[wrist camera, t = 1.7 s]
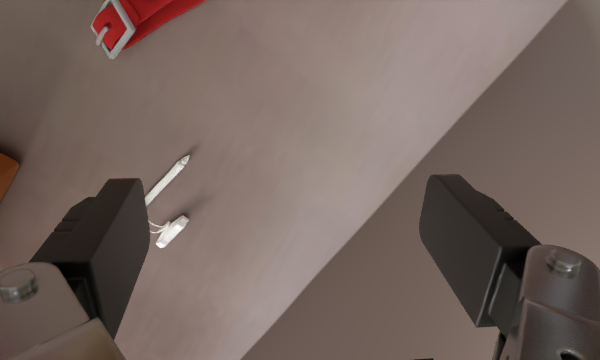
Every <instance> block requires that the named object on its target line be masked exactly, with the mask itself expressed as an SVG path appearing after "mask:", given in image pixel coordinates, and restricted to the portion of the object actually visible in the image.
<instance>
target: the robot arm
mask: <svg viewBox="0 0 600 360" xmlns="http://www.w3.org/2000/svg"><path fill="white" fill-rule="evenodd" d="M419 231H420V237H421V240H422V242H423V244H424V245H425V247H426V249H427V250H428V252H429V253H430V255H431V256H432V258H433V260H434V261H435V263H436V265H437V266H438V268H439V269H440V271H441V272H442V274H443V276H444V277H445V279H446V280H447V282H448V283H449V285H450V287H451V288H452V290H453V291H454V293H455V294H456V296H457V297H458V299H459V301H460V302H461V304H462V306H463V307H464V309H465V310H466V312H467V313H468V315H469V317H470V318H471V320H472V321H473V323H474V324H475V326H476V327H493V326H497V327H498V328H499V330H500V332H499V335H498V338H497V341H496V345H495V350H494V354H493V358H492V360H600V270H599V268H598V267H597V266H596V265H595V264H594V263H593V262H592V261H590V260H589V259H587V258H586V257H584V256H582V255H581V254H579V253H577V252H574V251H571V250H569V249H566V248H563V247H559V246H554V245H542V244H541V243H540V242H539V241H537V240H536V239H535V238H534V237H533V236H532V235H531V234H530V233H529V232H528V231H527V230H526V229H525V228H524V227H523V226H521V225H520V224H519V223H518V222H517V221H516V220H513V217H512V216H511V215H510V214H509V213H508V212H504V209H503V208H502V207H501V206H500V205H499V204H498V203H497V202H496V201H495V200H494V199H492V198H490V197H488V196H486V195H484V194H482V193H480V192H479V191H476V190H475V189H474V188H473V187H472V186H471V185H470V184H469V183H468V182H467V181H466V180H465V179H464V178H462V177H461V176H460V175H458V174H450V175H449V174H447V175H431V176H430V177H429V179H428V182H427V186H426V192H425V197H424V202H423V207H422V212H421V217H420V222H419ZM149 243H150V228H149V222H148V215H147V209H146V202H145V196H144V190H143V185H142V182H141V180H140V179H139V178H122V179H108V181H107V182H106V183H105V185H104V186H103V188H102V189H101V190H100V192H99V193H98V195H97V196H96V197H87V198H86V199H84V200H83V201H81V202H80V203H78V204H76V205H75V206H73V207H72V208H71V209H70V210H69V211H68V213H67V214H66V215H65V217H64V218H63V219H62V222H60V223H59V224H58V225H57V227H56V228H55V229H54V232H52V233H51V234H50V236H49V237H48V238H47V240H46V241H45V242H44V243H43V245H42V246H41V247H40V248H39V250H38V251H37V252H36V254H35V255H34V256H33V257H32V259H31V260H30V261H29V263H25V264H20V265H16V266H13V267H10V268H7V269H5V270H2V271H0V360H126V359H125V357H124V356H123V354H122V353H121V351H120V350H119V348H118V347H117V345H116V344H115V342H114V339H115V336H116V333H117V331H118V328H119V325H120V323H121V320H122V318H123V315H124V312H125V310H126V307H127V304H128V302H129V299H130V297H131V294H132V291H133V289H134V286H135V284H136V281H137V278H138V276H139V273H140V270H141V268H142V265H143V263H144V260H145V257H146V255H147V252H148V249H149ZM417 360H433V358H432V359H417Z"/></svg>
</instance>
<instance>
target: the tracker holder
mask: <svg viewBox="0 0 600 360" xmlns="http://www.w3.org/2000/svg"><path fill="white" fill-rule="evenodd" d="M203 1H205V0H105V2H104V3H103V5H102V7H101V8H100V10H99V12H98V13H97V15H96V17H95V18H94V20H93V22H92V23H91V25H90V26H91V28H92V30H93V32H94V33H95V35H96V37H97V39H96V45H98V46H99V45H100V44H101V45H102V47H103V48H104V50H105V52H106V53H107V55H108V57H109V58H110V59H112V60H113V59H115V58H116V56H117V55H118V54H119V52H120V51H121V50H123V49H126V48H128V47H130V46H131V45H133V44H135V43H136V42H138V41H139V40H141V39H142V38H143V37H145V36H146V35H148V34H149V33H151V32H152V31H154V30H155V29H156V28H158V27H159V26H161V25H162V24H164V23H166V22H167V21H169V20H171V19H173V18H175V17H176V16H178V15H180V14H182V13H184V12H185V11H187V10H189V9H191V8H192V7H194V6H196V5H198V4H200V3H201V2H203ZM135 27H137V28H136V30H135Z"/></svg>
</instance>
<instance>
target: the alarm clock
mask: <svg viewBox="0 0 600 360" xmlns="http://www.w3.org/2000/svg"><path fill="white" fill-rule="evenodd" d="M18 167H19V163H18V162H17V161H15V160H13V159H11V158H9V157H8V156H6V155H4V154H2V153H0V202H1V200H2V199H3V197H4V195H5V193H6V191H7V190H8V188H9V186H10V184H11V183H12V181H13V179H14V177H15V175H16V173H17V171H18Z"/></svg>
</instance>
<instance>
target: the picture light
mask: <svg viewBox="0 0 600 360" xmlns="http://www.w3.org/2000/svg"><path fill="white" fill-rule="evenodd" d="M189 157H190V155H187V156H185V157H183V158H181V160H180V161H178V162H177V163H176V165H175V166H174V167H173V168H172V169H171V170H170V171H169V172H168V173H167V174H166V175H165V176H164V177H163V179H162V180H161V181H160V182H159V183H158V184H157V185H156V186H155V187H154V188H153V189H152V190H151V191H150V192H149V193H148V195H147V196H146V197H145V202H146V206H147V205H148V204H149V203H150V202H151V201H152V200H153V199H154V198H155V197H156V196H157V195H158V194H159V193H160V191H161V190H162V189H163V188H164V187H165V186H166V185H167V184H168V183H169V182H170V181H171V180H172V179H173V178H174V177H175V176H176V175H177V174H178V172H179V171H180V170H182V169H183V168H184V167H185V165H186V164H187V162H188V160H189ZM188 221H189V219H188V218H187V217H185V216H184V215H182V216H180V217H179V218H178V219H176V220H175V221H173V222H172V223H171V224H170V221H167V222H166V223H165V224H164V225H163V226H158V225H155V224H153V223H152V222H150V221H149V220H148V222H149V223H151V224H152V225H154V226H157V227H161V229H160V230H159V231H158V232H153V231H150V232H151V233H159V232H162V231H163V230H164V231H163V232H162V233H161V235H160V236H159V238H158V240H157V241H156V245H158V246H159V247H161V248H163V247H165V246H166V245H167V244H168V243H169V242H170V241H171V240H172V239H173V238H174V237H175V236H176V235H177V234H178V233H179V232H180V231H181V230H182V229H183V228H184V227H185V226H186V224H187V223H188ZM169 224H170V225H169Z"/></svg>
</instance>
